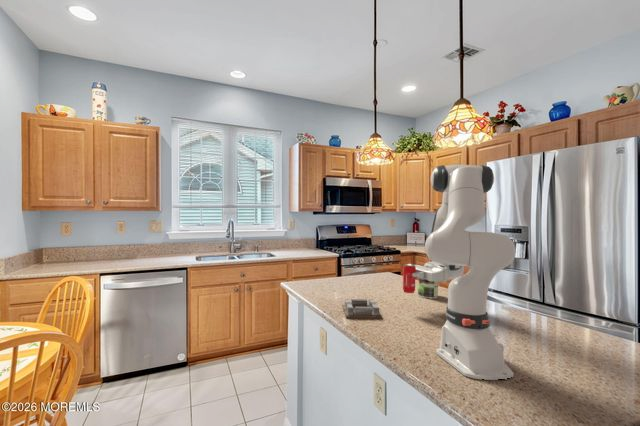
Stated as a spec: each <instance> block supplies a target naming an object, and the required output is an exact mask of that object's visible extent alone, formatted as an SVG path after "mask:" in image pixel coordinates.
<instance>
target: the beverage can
mask: <svg viewBox="0 0 640 426" xmlns="http://www.w3.org/2000/svg"><path fill="white" fill-rule="evenodd" d="M415 265H416V264H414V263H404V264H403V267H402V290H403V292H404V293H406V294H414V293H415V291H416V277H412V276H411V275H412V274H411V273H412V272H416V267H415Z"/></svg>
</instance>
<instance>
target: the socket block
mask: <svg viewBox="0 0 640 426" xmlns="http://www.w3.org/2000/svg"><path fill="white" fill-rule="evenodd" d="M341 306H342V310H343V312H344V316H345V319H367V320H368V319H371V320H372V319H380V320H381V319H382V318H383V315H382V313H381V312H380V308H379V306H378V304H377V302H376V301H375V300H374V299H373V298H369V299H366V298H365V299H364V298H352V299H350V298H345V299H344V304H342V305H341Z"/></svg>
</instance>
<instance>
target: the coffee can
mask: <svg viewBox="0 0 640 426" xmlns="http://www.w3.org/2000/svg"><path fill="white" fill-rule="evenodd" d="M417 278H418V279H417V296H418V297H419V298H422V297H423V298H422V299H428V298H429V299H430V300H431V299H433V300H434V299H437V298H438V297H439V282H434V281H432V282H431V281H428V280H427V279H423V278H420V277H417Z"/></svg>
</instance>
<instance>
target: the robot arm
mask: <svg viewBox="0 0 640 426" xmlns="http://www.w3.org/2000/svg"><path fill="white" fill-rule="evenodd" d="M494 182H495V176H494V172H493V169H492V168H491V166H487V165H483V164H482V165H481V164H480V165H475V164H473V165H472V164H450V165H449V164H448V165H444V164H443V165H442V164H441V165H438V166H436V167H434V168H433V170H432V172H431V175H430V184H431V186H432V190H434V191H435V192H437V193H442V200H441V201H442V202H441V206H439V207H437V209H436V211H435V214H434V218H433V221H432V226H431V232H430V233H429V235H428V236H427V238H426V240H425V243H424V250H425V254H426V256H427V258H428V259H429V260H430V261H426V262H425V263H424V265H418V264H414V265H415V267H416V272H412V273H411V274H412V275H411V276H412V277H415V278H418V277H420V278H423V279H427V280H428V281H431V282H432V281H434V282H438V283H447V282H448V281H450V280H451V281H450V282H449V284H448V287H447V290H448V292H447V306H446V309H445V318H446V321H445V323H444V325H442V327H441V332H440V343H439V347H438V348H436V349H435V354H437V356H439V357H440V358H442V360H444V361H445V362H446V363H448V364H449V365H450V366H452V367H453V368H454V369H456V370H457V372H459V373H460V374H461V375H463V376H464V377H468V378H470V379H476V380H482V379H484V380H483V381H499V380H498V379H505V380H508V379H507V378H510V379H512V378H514V377H515V376H514V375H515V374H514V372H513V371H512V369H511V368H510V367H509V366H508V365H507V363H506V362H505V361H504V359H505V358H504V345H503V344H502V343H499V342H498V340H497V339H496V337H495V334H493V332H492V330H491V328H490V326H491V323H490V322H491V320H490V316H489V314H488V312H487V304H488V303H487V301H488V300H487V299H488V291H489V288H490V284H491V283H492V281H493V279H494V278H495V276H496V275H497V274H498V273H499V272H500V271H502V270H503V269H505V268H507V267H508V266H510V264H512V263H513V261H514V260H515V258H516V257H515V256H516V246H515V244H514V242H513V240H512V239H511V238H510V237H509V236H508V235H506V234H502V233H495V232H489V231H467V230H466V229H467V228H469V227H471V226H474V225H476V224H478V223H479V222H481V221H482V220H483V218H484V217H485V214H486V208H485V206H486V205H485V204H486V203H485V195H484V193H488V192H489V191H491V190H492V188H493V185H494ZM465 267H468V268H469V269H468V271H467V272H466V273H465V274H464V272H465ZM513 376H514V377H513ZM511 377H512V378H511Z"/></svg>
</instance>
